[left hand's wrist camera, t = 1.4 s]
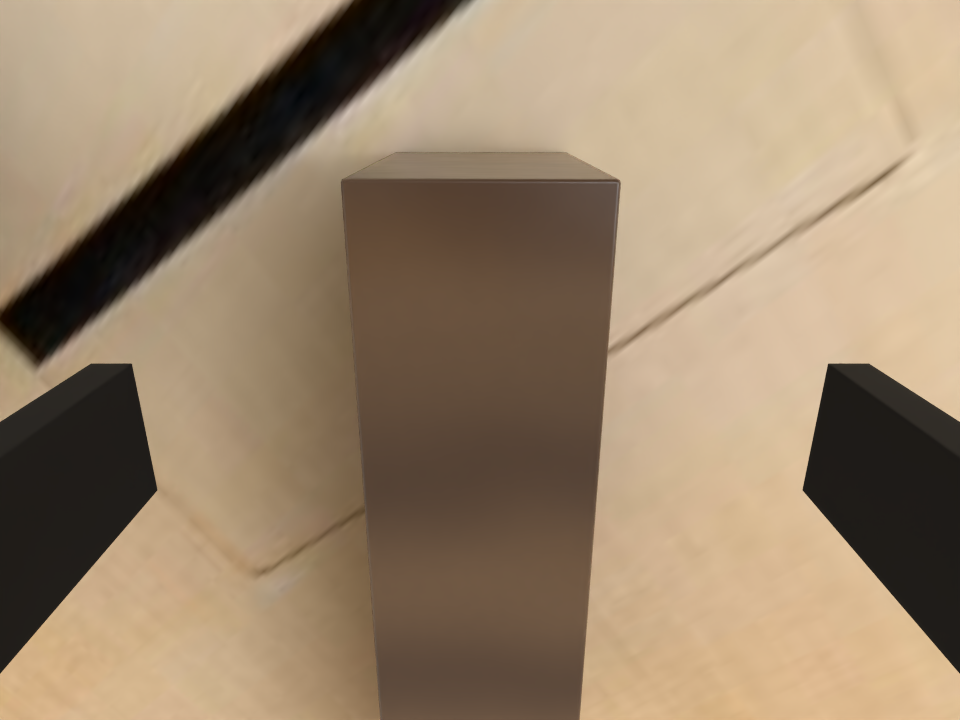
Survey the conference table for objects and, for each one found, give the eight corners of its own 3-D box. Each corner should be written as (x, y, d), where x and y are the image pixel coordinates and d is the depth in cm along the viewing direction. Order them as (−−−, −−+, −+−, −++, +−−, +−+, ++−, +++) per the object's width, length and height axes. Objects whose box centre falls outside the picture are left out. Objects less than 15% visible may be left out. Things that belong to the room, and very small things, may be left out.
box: (393, 152, 23) (339, 178, 14) (568, 152, 23) (621, 179, 14) (418, 717, 33) (395, 938, 24) (541, 717, 33) (563, 939, 24)
